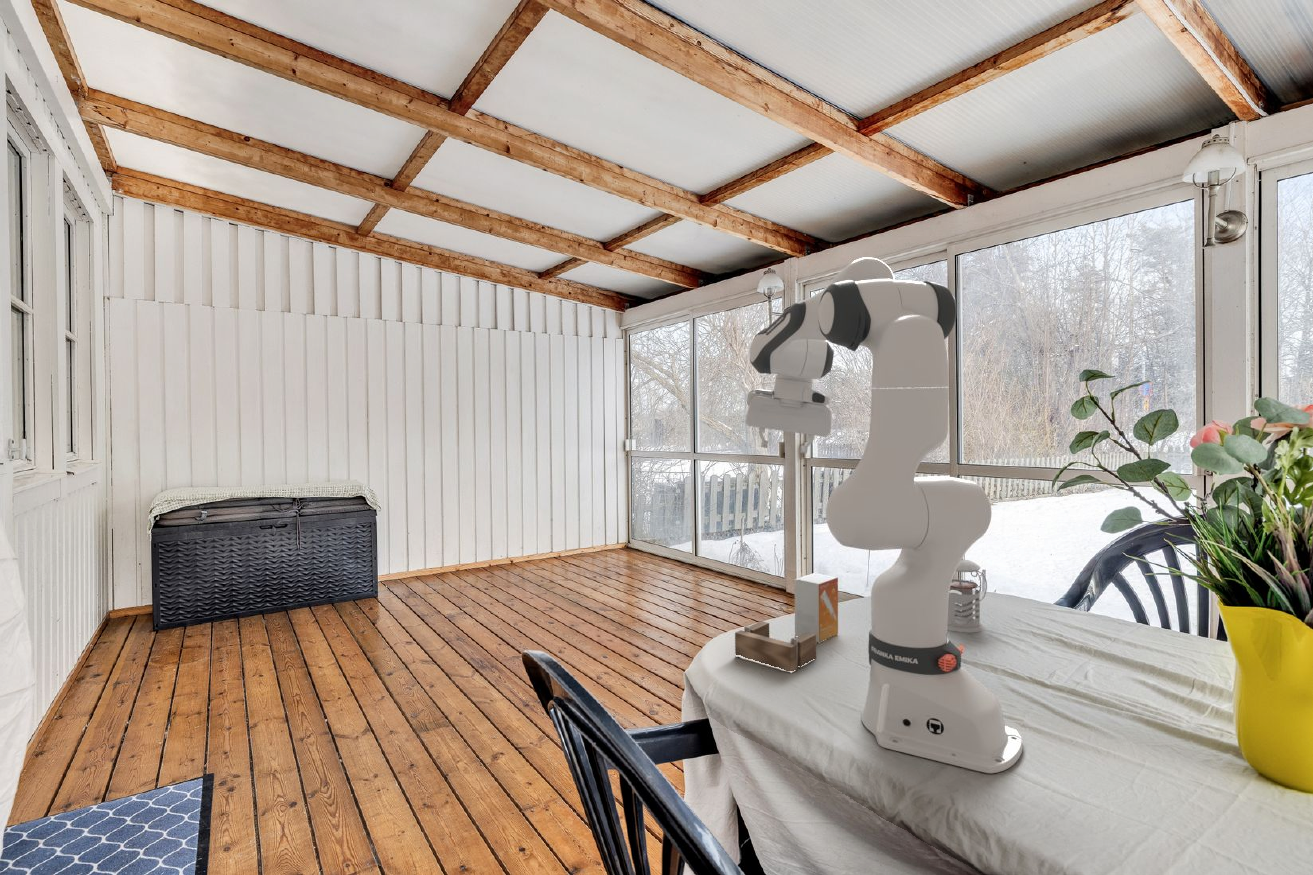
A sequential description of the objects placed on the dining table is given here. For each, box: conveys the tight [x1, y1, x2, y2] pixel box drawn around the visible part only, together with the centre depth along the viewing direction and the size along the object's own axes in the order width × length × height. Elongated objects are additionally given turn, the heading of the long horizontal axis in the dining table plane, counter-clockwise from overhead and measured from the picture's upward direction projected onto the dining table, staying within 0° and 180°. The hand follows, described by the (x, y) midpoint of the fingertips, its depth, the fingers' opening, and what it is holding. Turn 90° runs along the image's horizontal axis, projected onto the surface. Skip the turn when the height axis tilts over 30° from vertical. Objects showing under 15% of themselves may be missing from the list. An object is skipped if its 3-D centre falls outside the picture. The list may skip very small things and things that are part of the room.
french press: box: [947, 558, 988, 634], centre depth 146 cm, size 10×12×25 cm
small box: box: [794, 572, 839, 644], centre depth 141 cm, size 8×6×13 cm
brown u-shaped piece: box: [734, 620, 817, 671], centre depth 129 cm, size 13×10×6 cm
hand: (783, 450), depth 154 cm, fingers open, 8 cm apart
